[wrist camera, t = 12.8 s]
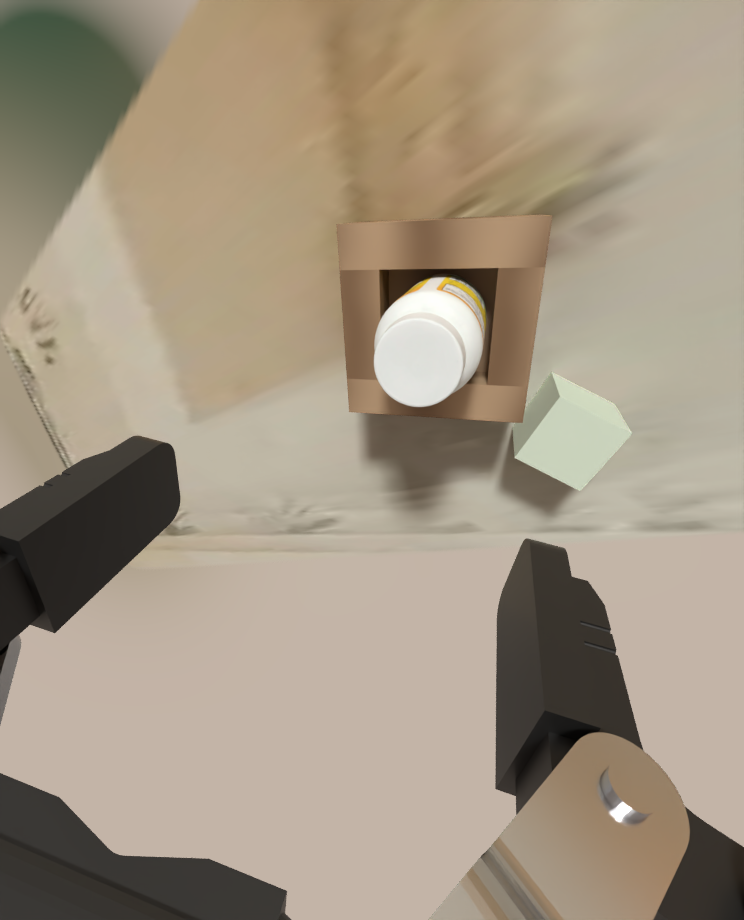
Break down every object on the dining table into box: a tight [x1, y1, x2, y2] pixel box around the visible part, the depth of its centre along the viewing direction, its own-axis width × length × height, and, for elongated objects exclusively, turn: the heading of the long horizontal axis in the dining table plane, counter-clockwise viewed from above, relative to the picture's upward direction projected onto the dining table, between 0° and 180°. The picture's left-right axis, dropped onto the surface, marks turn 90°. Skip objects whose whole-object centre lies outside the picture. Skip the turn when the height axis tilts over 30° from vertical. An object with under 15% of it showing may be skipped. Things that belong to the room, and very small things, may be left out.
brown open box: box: [337, 215, 552, 423], centre depth 28 cm, size 11×11×6 cm
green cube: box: [512, 372, 632, 491], centre depth 30 cm, size 5×5×5 cm
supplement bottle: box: [374, 274, 487, 407], centre depth 23 cm, size 5×5×10 cm
